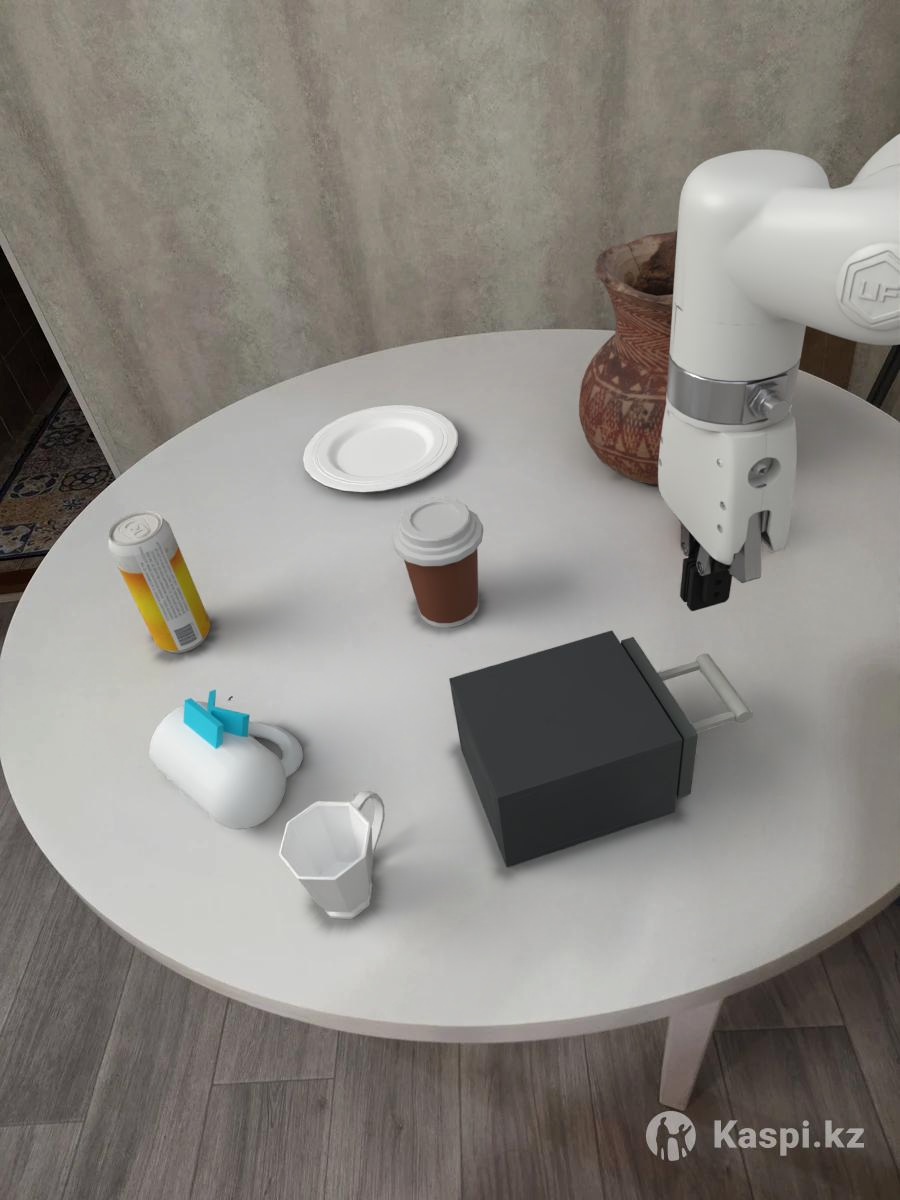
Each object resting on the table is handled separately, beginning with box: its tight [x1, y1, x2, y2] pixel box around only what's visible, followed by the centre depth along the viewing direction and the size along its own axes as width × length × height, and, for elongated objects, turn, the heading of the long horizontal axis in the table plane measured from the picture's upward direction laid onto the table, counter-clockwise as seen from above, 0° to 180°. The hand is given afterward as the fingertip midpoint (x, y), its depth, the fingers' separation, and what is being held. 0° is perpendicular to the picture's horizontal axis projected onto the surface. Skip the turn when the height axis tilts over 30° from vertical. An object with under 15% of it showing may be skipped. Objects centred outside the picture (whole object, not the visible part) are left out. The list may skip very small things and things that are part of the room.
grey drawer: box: [620, 636, 753, 799], centre depth 72 cm, size 20×11×8 cm, turn 106°
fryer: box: [448, 629, 682, 868], centre depth 71 cm, size 15×13×10 cm
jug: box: [578, 228, 678, 486], centre depth 100 cm, size 22×21×25 cm
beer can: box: [107, 510, 211, 654], centre depth 89 cm, size 6×6×15 cm
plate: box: [302, 404, 459, 494], centre depth 115 cm, size 21×21×2 cm
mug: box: [148, 689, 304, 830], centre depth 76 cm, size 12×9×12 cm
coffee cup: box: [391, 496, 484, 629], centre depth 88 cm, size 9×9×12 cm
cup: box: [278, 790, 386, 920], centre depth 67 cm, size 7×10×8 cm
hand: (704, 599), depth 65 cm, fingers closed
